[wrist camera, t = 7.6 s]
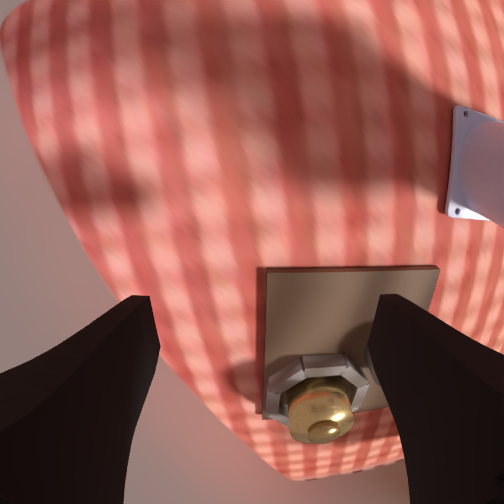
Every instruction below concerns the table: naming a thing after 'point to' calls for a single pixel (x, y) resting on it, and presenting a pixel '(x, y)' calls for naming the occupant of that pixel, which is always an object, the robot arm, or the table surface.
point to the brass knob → (319, 409)
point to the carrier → (330, 328)
